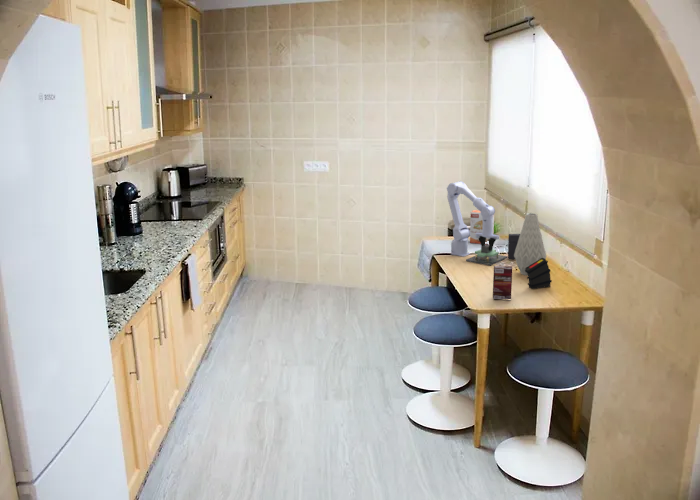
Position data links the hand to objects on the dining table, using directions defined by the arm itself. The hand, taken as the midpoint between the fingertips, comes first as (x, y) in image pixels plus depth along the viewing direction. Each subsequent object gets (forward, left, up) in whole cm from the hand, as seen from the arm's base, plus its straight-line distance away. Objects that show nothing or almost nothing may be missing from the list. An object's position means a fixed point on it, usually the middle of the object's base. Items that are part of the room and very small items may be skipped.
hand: (487, 249), depth 360 cm
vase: (+32, -10, -6) cm, 34 cm away
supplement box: (+40, -54, -6) cm, 67 cm away
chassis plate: (0, 0, -6) cm, 6 cm away
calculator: (+14, +11, -6) cm, 19 cm away
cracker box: (-22, +31, -6) cm, 39 cm away
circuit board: (0, 0, -2) cm, 2 cm away
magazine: (+46, -29, -6) cm, 55 cm away
